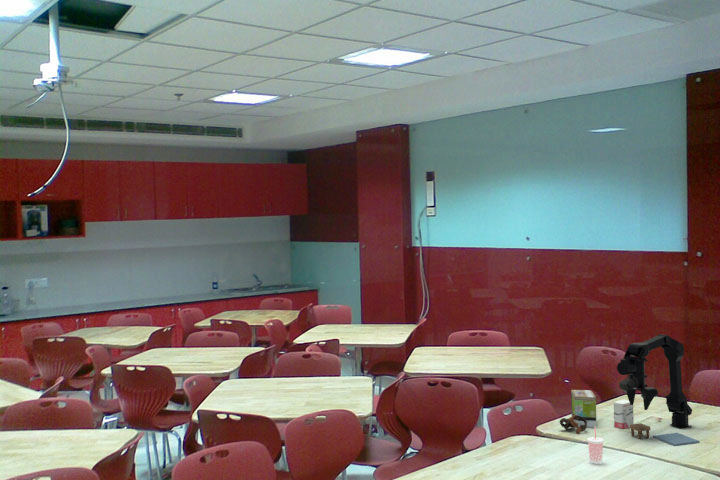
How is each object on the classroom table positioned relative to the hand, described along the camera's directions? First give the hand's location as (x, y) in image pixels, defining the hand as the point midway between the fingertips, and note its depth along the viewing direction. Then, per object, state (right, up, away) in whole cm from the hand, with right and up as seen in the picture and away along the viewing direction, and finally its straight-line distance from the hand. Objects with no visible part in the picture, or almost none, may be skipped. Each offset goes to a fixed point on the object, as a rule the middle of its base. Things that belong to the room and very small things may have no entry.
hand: (638, 407), depth 292 cm
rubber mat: (+14, -13, -6) cm, 19 cm away
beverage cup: (-30, -14, -31) cm, 46 cm away
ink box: (0, -13, +16) cm, 21 cm away
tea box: (-17, -14, +23) cm, 31 cm away
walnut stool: (0, -13, 0) cm, 13 cm away
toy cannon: (-26, -14, +11) cm, 31 cm away
